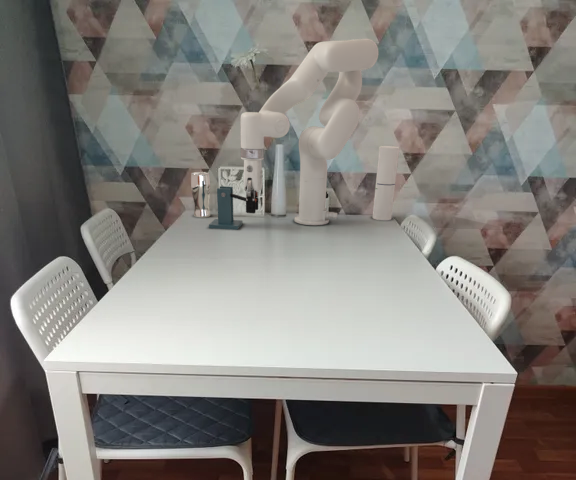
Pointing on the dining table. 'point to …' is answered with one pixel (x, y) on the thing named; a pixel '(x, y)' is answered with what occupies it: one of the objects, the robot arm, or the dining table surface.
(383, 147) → the cylindrical container
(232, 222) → the bracket
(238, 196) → the lever
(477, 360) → the dining table surface
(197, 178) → the metal tumbler
